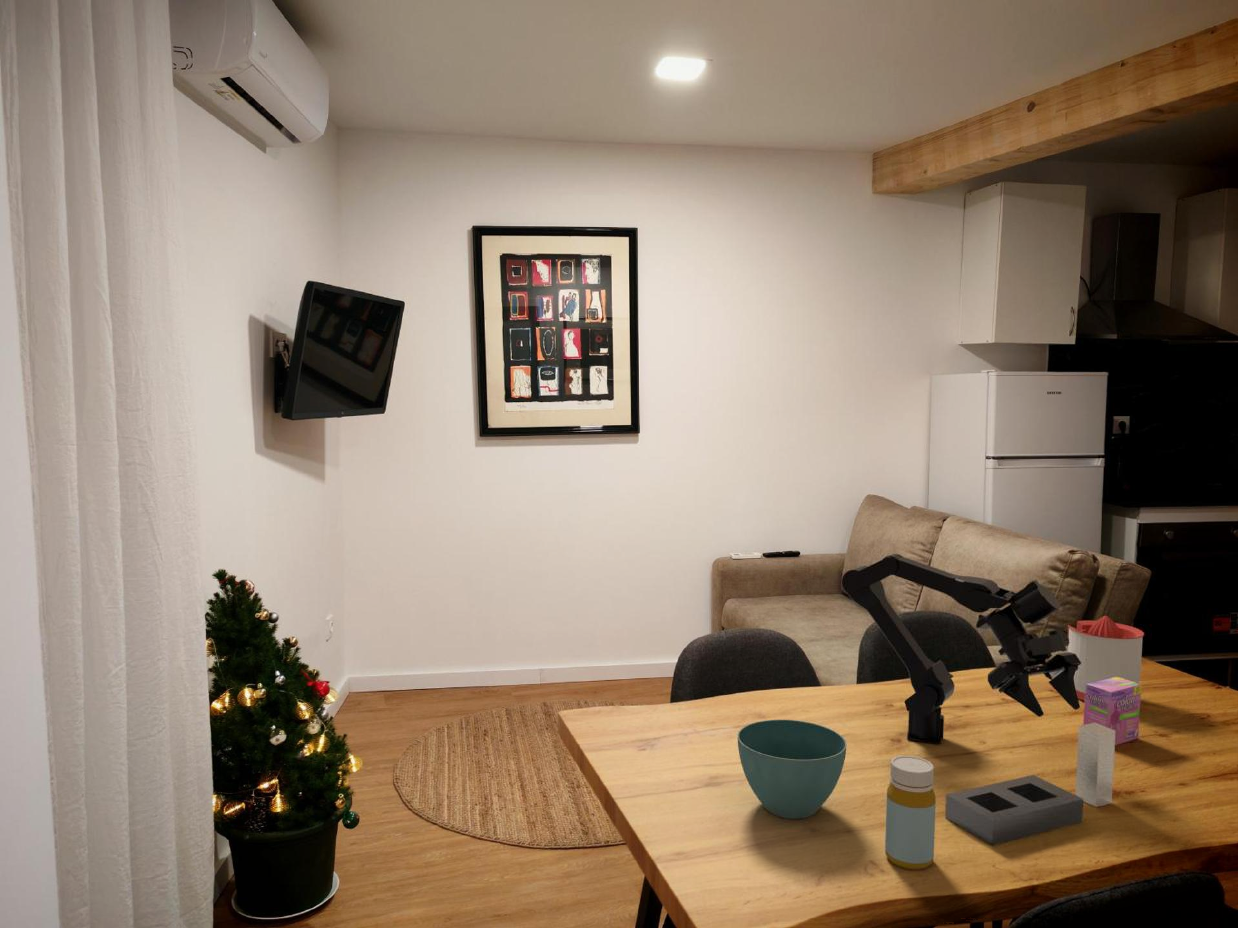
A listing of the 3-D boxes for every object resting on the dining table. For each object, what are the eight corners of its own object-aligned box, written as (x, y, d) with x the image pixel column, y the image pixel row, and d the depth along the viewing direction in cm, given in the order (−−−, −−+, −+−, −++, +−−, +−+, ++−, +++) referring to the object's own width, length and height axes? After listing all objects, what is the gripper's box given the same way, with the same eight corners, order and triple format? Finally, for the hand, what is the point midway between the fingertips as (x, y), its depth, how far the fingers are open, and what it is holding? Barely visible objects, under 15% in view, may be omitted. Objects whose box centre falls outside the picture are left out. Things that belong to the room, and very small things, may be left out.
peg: (1095, 807, 150) (1099, 733, 149) (1075, 797, 154) (1078, 725, 153) (1111, 802, 152) (1115, 730, 151) (1091, 793, 156) (1094, 722, 155)
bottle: (877, 848, 136) (880, 755, 135) (921, 846, 137) (924, 753, 135) (895, 872, 129) (899, 774, 128) (941, 870, 130) (945, 773, 129)
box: (1108, 748, 176) (1110, 691, 175) (1081, 738, 181) (1084, 683, 180) (1139, 739, 181) (1142, 683, 180) (1113, 730, 186) (1115, 675, 185)
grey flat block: (992, 845, 137) (993, 821, 137) (945, 817, 146) (946, 794, 146) (1082, 821, 145) (1083, 798, 145) (1032, 796, 154) (1033, 774, 154)
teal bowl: (731, 783, 159) (732, 717, 158) (832, 785, 158) (833, 719, 157) (742, 832, 141) (743, 758, 140) (856, 834, 140) (858, 760, 139)
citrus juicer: (1071, 682, 217) (1075, 603, 216) (1149, 700, 204) (1154, 616, 203) (1046, 696, 207) (1049, 613, 205) (1127, 716, 194) (1131, 628, 192)
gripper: (1002, 619, 159) (1051, 698, 150) (1074, 610, 166) (1125, 684, 157) (967, 650, 167) (1012, 726, 157) (1038, 640, 174) (1084, 712, 165)
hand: (1059, 712), depth 159 cm, fingers open, 9 cm apart
